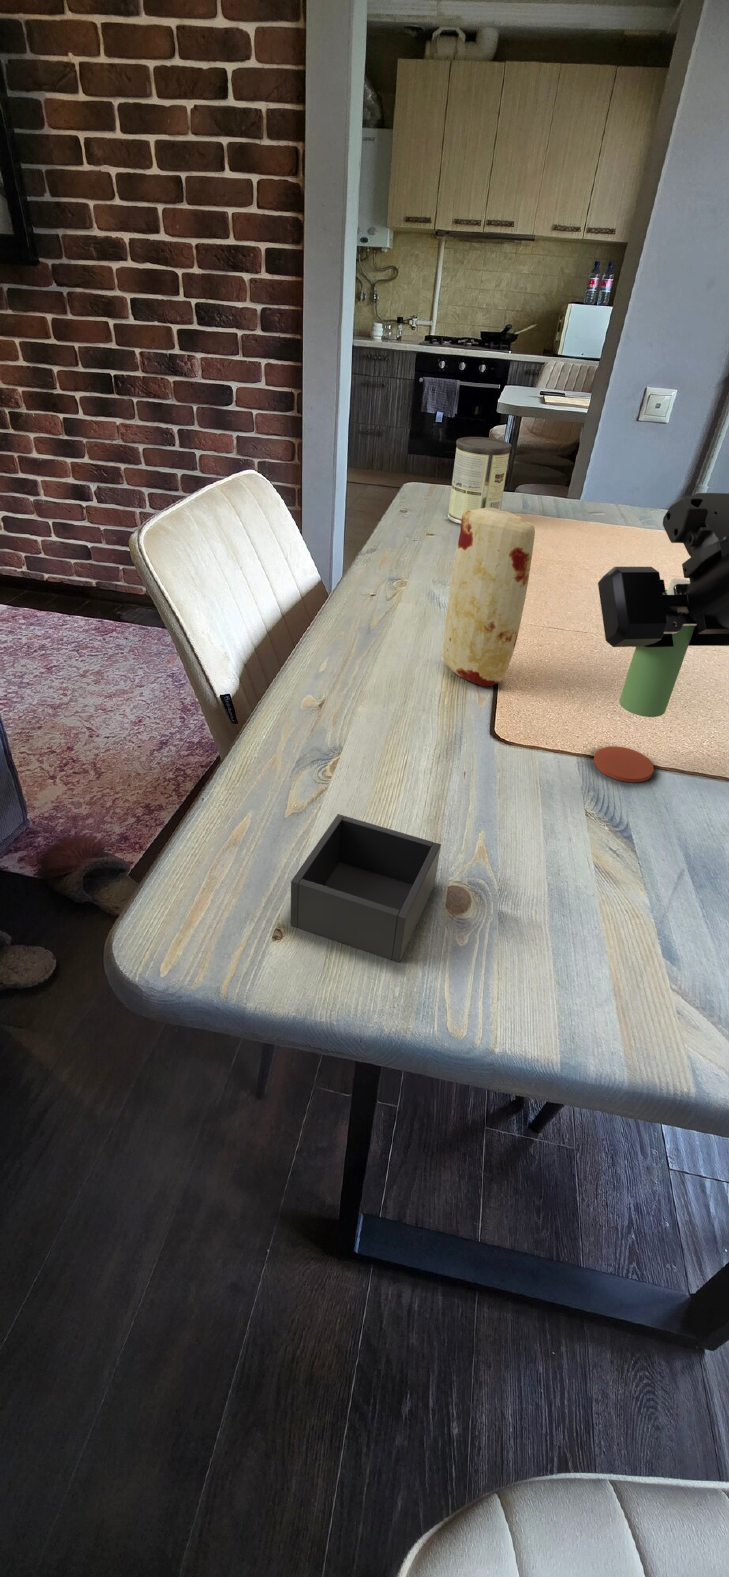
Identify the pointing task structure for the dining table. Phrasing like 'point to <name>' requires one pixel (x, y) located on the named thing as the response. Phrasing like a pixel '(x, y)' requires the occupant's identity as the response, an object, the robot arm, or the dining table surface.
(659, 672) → the soap bottle
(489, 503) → the coffee can
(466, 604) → the food model
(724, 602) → the robot arm
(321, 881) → the dark grey open box
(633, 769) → the mat
